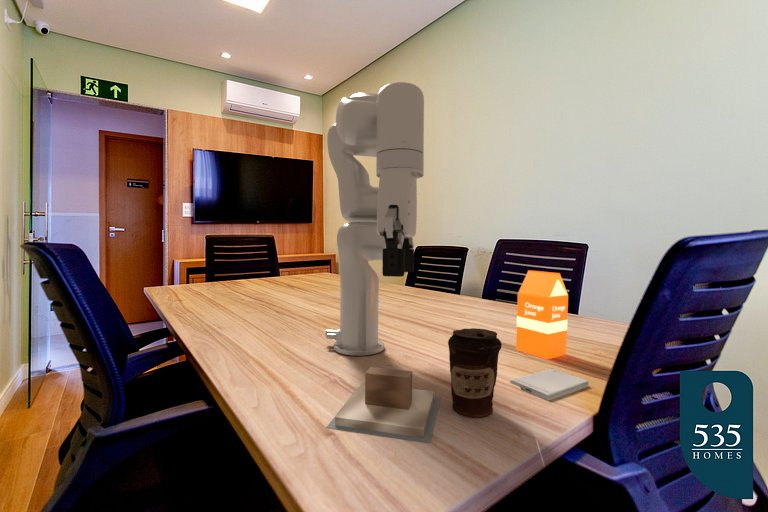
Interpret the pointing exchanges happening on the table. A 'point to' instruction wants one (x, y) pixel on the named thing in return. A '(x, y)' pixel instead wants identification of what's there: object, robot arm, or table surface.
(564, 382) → the hard drive
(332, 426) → the mat
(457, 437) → the table surface
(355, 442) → the table surface
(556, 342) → the orange juice
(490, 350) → the coffee cup
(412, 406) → the lid
